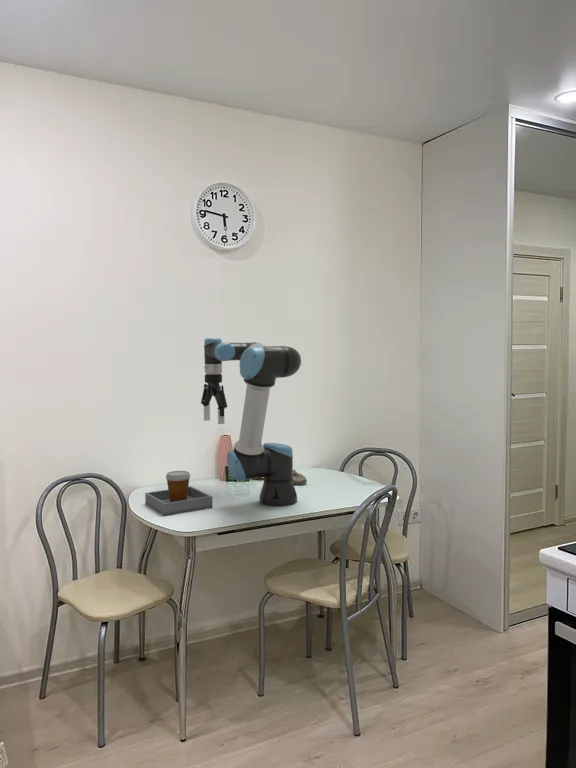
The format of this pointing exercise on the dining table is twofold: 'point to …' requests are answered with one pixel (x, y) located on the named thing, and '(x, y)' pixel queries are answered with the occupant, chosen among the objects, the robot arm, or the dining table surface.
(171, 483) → the disposable coffee cup
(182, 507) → the crate
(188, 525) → the dining table surface
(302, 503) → the dining table surface
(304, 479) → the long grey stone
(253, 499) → the dining table surface
